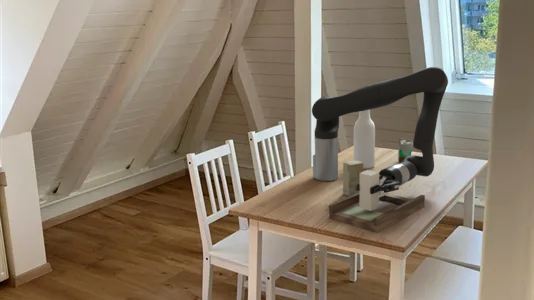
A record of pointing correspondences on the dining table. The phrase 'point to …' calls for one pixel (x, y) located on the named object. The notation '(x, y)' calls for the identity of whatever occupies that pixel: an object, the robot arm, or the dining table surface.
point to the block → (368, 190)
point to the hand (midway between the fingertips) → (364, 189)
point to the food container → (404, 149)
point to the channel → (375, 211)
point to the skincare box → (351, 177)
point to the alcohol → (364, 140)
